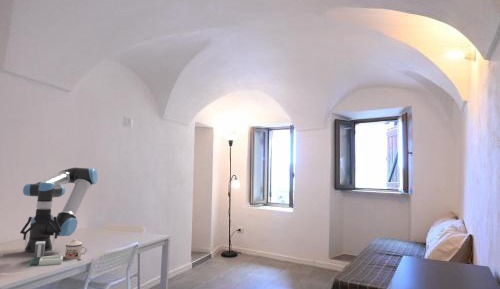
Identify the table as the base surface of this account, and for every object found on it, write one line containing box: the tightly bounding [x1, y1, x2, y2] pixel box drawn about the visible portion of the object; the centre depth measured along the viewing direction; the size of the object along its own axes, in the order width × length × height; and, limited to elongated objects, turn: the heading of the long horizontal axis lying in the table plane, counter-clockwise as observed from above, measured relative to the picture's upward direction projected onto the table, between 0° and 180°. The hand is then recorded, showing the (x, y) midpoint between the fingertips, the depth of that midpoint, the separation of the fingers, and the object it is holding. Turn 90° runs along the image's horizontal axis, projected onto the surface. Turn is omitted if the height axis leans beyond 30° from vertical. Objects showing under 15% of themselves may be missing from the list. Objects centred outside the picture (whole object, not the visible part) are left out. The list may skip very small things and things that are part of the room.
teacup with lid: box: [64, 238, 88, 260], centre depth 195 cm, size 12×9×12 cm
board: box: [26, 252, 62, 268], centre depth 182 cm, size 18×16×3 cm
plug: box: [33, 241, 45, 261], centre depth 185 cm, size 5×4×10 cm
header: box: [39, 254, 64, 265], centre depth 181 cm, size 8×11×3 cm
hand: (39, 245), depth 185 cm, fingers open, 13 cm apart
